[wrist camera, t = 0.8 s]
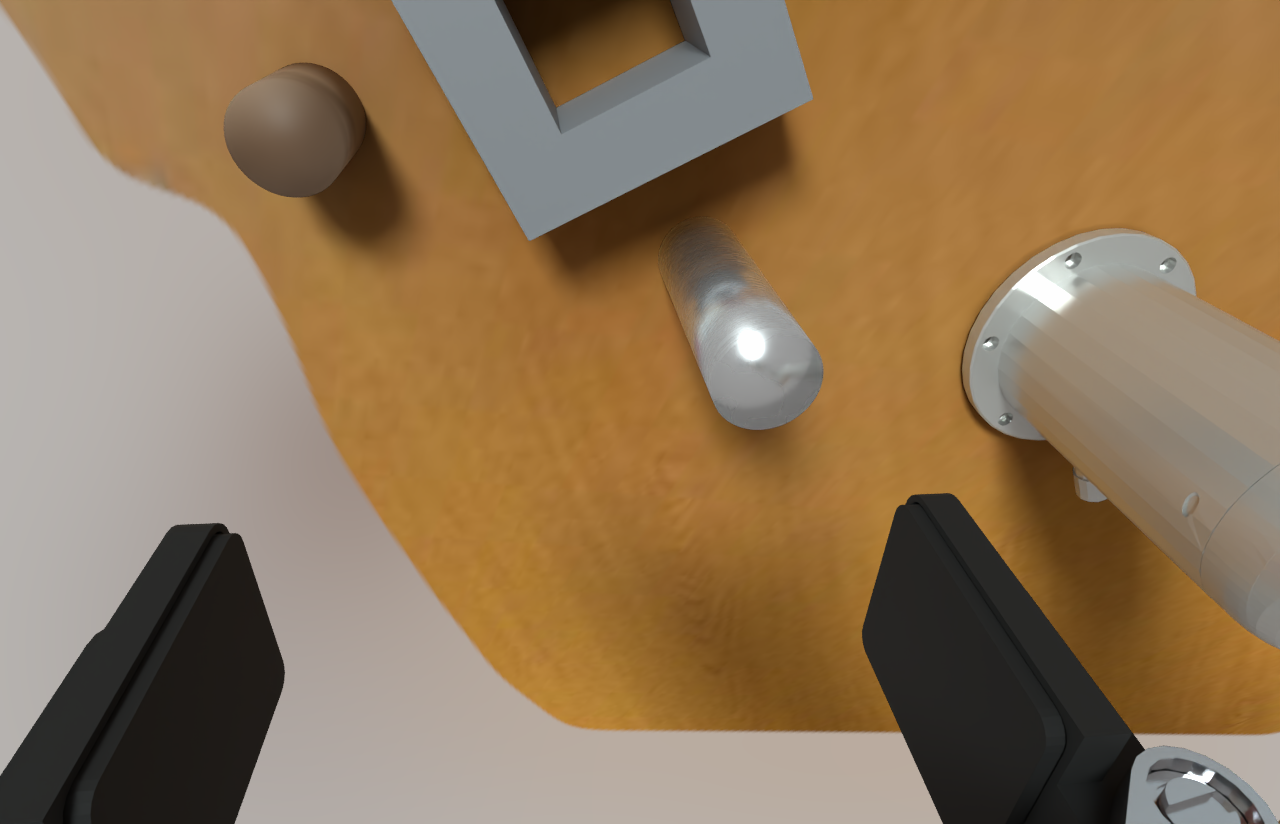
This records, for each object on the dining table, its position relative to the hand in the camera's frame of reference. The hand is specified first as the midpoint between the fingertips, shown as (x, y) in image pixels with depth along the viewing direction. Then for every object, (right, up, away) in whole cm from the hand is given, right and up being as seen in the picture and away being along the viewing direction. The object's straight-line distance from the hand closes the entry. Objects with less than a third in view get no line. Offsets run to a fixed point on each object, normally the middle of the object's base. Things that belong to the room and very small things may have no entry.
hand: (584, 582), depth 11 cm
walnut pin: (-13, +15, +19) cm, 27 cm away
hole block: (-1, +19, +18) cm, 26 cm away
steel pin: (+4, +10, +25) cm, 27 cm away
